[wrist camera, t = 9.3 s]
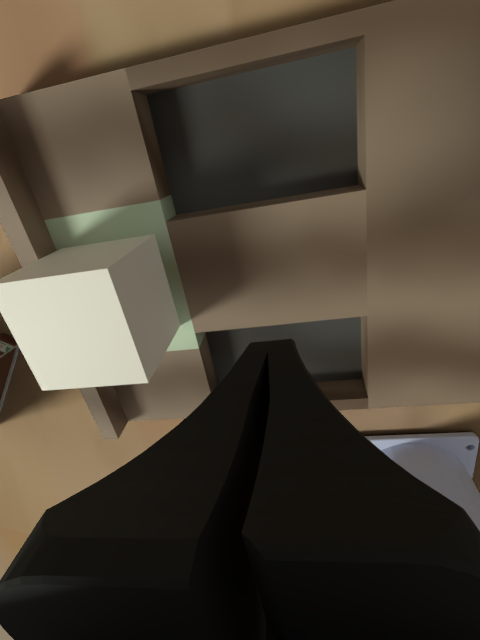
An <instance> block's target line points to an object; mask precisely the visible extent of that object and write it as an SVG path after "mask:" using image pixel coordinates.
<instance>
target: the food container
mask: <svg viewBox="0 0 480 640" xmlns="http://www.w3.org/2000/svg"><path fill="white" fill-rule="evenodd" d="M19 350H20V348H19V346H18V344H17V342H16V340H15V339H14V337H11V336H9V335H7V334H3V333H0V413H1V410H2V406H3V403H4V400H5V396H6V393H7V390H8V386H9V383H10V380H11V376H12V373H13V370H14V366H15V363H16V360H17V356H18V353H19Z"/></svg>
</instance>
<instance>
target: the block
mask: <svg viewBox="0 0 480 640" xmlns="http://www.w3.org/2000/svg"><path fill="white" fill-rule="evenodd" d="M0 312H1V314H2V316H3V318H4V320H5V322H6V324H7V325H8V327H9V329H10V331H11V333H12V335H13V337H14V339H15V340H16V342H17V344H18V346H19V348H20V350H21V352H22V354H23V355H24V357H25V359H26V361H27V363H28V365H29V367H30V369H31V370H32V372H33V374H34V376H35V378H36V380H37V382H38V384H39V385H40V387H41V389H42V391H46V390H59V389H73V388H87V387H100V386H114V385H128V384H141V383H149V381H150V379H151V377H152V376H153V374H154V372H155V370H156V368H157V367H158V365H159V363H160V361H161V359H162V358H163V356H164V354H165V352H166V350H167V349H168V347H169V345H170V343H171V341H172V340H173V338H174V336H175V334H176V332H177V331H178V329H179V327H180V323H179V319H178V315H177V312H176V308H175V305H174V301H173V298H172V294H171V291H170V287H169V284H168V280H167V276H166V273H165V269H164V266H163V262H162V259H161V255H160V252H159V248H158V244H157V241H156V237H155V234H151V235H145V236H138V237H132V238H126V239H119V240H113V241H106V242H100V243H93V244H87V245H80V246H74V247H67V248H61V249H59V250H57V251H55V252H53V253H51V254H49V255H47V256H45V257H43V258H41V259H39V260H37V261H35V262H33V263H31V264H29V265H27V266H25V267H23V268H21V269H19V270H17V271H14V272H12V273H10V274H8V275H6V276H4V277H2V278H0Z"/></svg>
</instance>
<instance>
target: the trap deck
mask: <svg viewBox="0 0 480 640" xmlns="http://www.w3.org/2000/svg"><path fill="white" fill-rule="evenodd" d="M0 222H1V224H2V226H3V228H4V231H5V233H6V235H7V237H8V239H9V241H10V243H11V245H12V247H13V250H14V252H15V254H16V256H17V258H18V260H19V262H20V264H21V266H22V268H23V267H25V266H27V265H29V264H31V263H33V262H35V261H37V260H39V259H41V258H43V257H45V256H47V255H49V254H51V253H53V252H55V251H57V250H59V249H61V248H67V247H74V246H80V245H87V244H93V243H100V242H106V241H113V240H119V239H126V238H132V237H138V236H145V235H151V234H155V237H156V241H157V244H158V248H159V252H160V255H161V259H162V262H163V266H164V269H165V273H166V276H167V280H168V284H169V287H170V291H171V294H172V298H173V301H174V305H175V308H176V312H177V315H178V319H179V323H180V327H179V329H178V331H177V332H176V334H175V336H174V338H173V340H172V341H171V343H170V345H169V347H168V349H167V350H166V352H165V354H164V356H163V358H162V359H161V361H160V363H159V365H158V367H157V368H156V370H155V372H154V374H153V376H152V377H151V379H150V381H149V383H141V384H128V385H114V386H100V387H87V388H79V389H80V391H81V393H82V395H83V397H84V399H85V402H86V404H87V406H88V408H89V410H90V412H91V414H92V416H93V418H94V421H95V423H96V425H97V427H98V429H99V431H100V433H101V435H102V437H103V440H104V439H118V438H119V437H120V435H121V433H122V431H123V429H124V428H125V426H126V424H127V422H128V421H143V420H162V419H181V418H186V417H188V416H189V415H190V414H191V413H192V412H193V411H194V410H195V409H196V408H197V407H198V406H199V405H200V404H201V403H202V402H203V401H204V400H205V399H206V398H207V396H208V395H209V394H210V393H211V392H212V391H213V390H214V389H215V388H216V386H217V385H218V384H219V383H220V382H221V380H222V379H223V378H224V377H225V375H226V374H227V373H228V372H229V370H230V369H231V368H232V366H233V365H234V364H235V362H236V361H237V360H238V358H239V357H240V356H241V354H242V353H243V351H244V350H245V349H246V347H247V346H248V345H249V344H250V343H251V342H262V341H272V340H283V339H292V340H294V341H295V343H296V348H297V351H298V353H299V355H300V357H301V359H302V361H303V363H304V365H305V367H306V368H307V370H308V371H309V373H310V375H311V376H312V378H313V379H314V381H315V382H316V384H317V385H318V386H319V388H320V389H321V390H322V392H323V393H324V394H325V395H326V397H327V398H328V399H329V400H330V402H331V403H332V404H333V405H334V406H335V407H336V409H337V410H349V409H368V408H387V407H406V406H424V405H443V404H462V403H480V0H393V1H389V2H385V3H381V4H377V5H373V6H369V7H365V8H361V9H357V10H353V11H349V12H345V13H341V14H337V15H334V16H330V17H326V18H322V19H318V20H314V21H310V22H306V23H302V24H298V25H294V26H290V27H286V28H282V29H278V30H274V31H270V32H266V33H262V34H258V35H254V36H250V37H246V38H242V39H238V40H234V41H230V42H226V43H222V44H218V45H214V46H210V47H206V48H202V49H198V50H194V51H190V52H186V53H182V54H178V55H174V56H171V57H167V58H163V59H159V60H155V61H151V62H147V63H143V64H139V65H135V66H131V67H127V68H123V69H119V70H115V71H111V72H107V73H103V74H99V75H95V76H91V77H87V78H83V79H79V80H75V81H71V82H67V83H63V84H59V85H55V86H51V87H47V88H43V89H39V90H35V91H31V92H27V93H23V94H19V95H15V96H11V97H8V98H4V99H0Z"/></svg>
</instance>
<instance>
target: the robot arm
mask: <svg viewBox="0 0 480 640" xmlns="http://www.w3.org/2000/svg"><path fill="white" fill-rule="evenodd" d="M468 445H469V446H468ZM478 446H479V438H478V437H477V435H476V434H475V433H473V432H461V433H436V434H411V435H385V436H363V435H362V434H361V433H360V432H359V431H358V430H357V429H356V428H355V427H354V426H353V425H352V424H351V423H350V422H349V421H348V420H347V419H346V418H345V417H344V416H343V415H342V414H341V413H340V412H339V411H338V410H337V409H336V407H335V406H334V405H333V404H332V403H331V402H330V400H329V399H328V398H327V397H326V395H325V394H324V393H323V392H322V390H321V389H320V388H319V386H318V385H317V384H316V382H315V381H314V379H313V378H312V376H311V375H310V373H309V371H308V370H307V368H306V367H305V365H304V363H303V361H302V359H301V357H300V355H299V353H298V351H297V348H296V343H295V341H294V340H292V339H283V340H272V341H262V342H251V343H250V344H249V345H248V346H247V347H246V349H245V350H244V351H243V353H242V354H241V356H240V357H239V358H238V360H237V361H236V362H235V364H234V365H233V366H232V368H231V369H230V370H229V372H228V373H227V374H226V375H225V377H224V378H223V379H222V380H221V382H220V383H219V384H218V385H217V386H216V388H215V389H214V390H213V391H212V392H211V393H210V394H209V395H208V396H207V398H206V399H205V400H204V401H203V402H202V403H201V404H200V405H199V406H198V407H197V408H196V409H195V410H194V411H193V412H192V413H191V414H190V415H189V416H188V417H186V418H185V419H184V420H183V421H182V422H181V423H180V424H179V425H177V426H176V427H175V428H174V429H173V430H171V431H170V432H169V433H167V434H166V435H165V436H164V437H162V438H161V439H160V440H158V441H157V442H156V443H155V444H153V445H152V446H151V447H149V448H148V449H147V450H145V451H144V452H143V453H141V454H140V455H138V456H137V457H135V458H134V459H132V460H131V461H130V462H128V463H127V464H125V465H124V466H122V467H120V468H119V469H117V470H116V471H114V472H113V473H111V474H109V475H108V476H106V477H105V478H103V479H101V480H100V481H98V482H96V483H94V484H93V485H91V486H89V487H87V488H85V489H84V490H82V491H80V492H78V493H77V494H75V495H73V496H71V497H69V498H68V499H66V500H64V501H62V502H60V503H59V504H57V505H55V506H53V507H51V508H49V509H47V510H46V511H45V513H44V514H43V515H42V517H41V518H40V520H39V521H38V523H37V524H36V526H35V528H34V529H33V531H32V532H31V534H30V535H29V537H28V538H27V540H26V542H25V543H24V545H23V546H22V548H21V549H20V551H19V552H18V554H17V555H16V557H15V558H14V560H13V561H12V563H11V565H10V566H9V568H8V569H7V571H6V572H5V574H4V575H3V577H2V578H1V580H0V625H1V626H2V627H3V628H4V630H6V632H7V633H8V634H9V635H10V636H11V637H12V638H13V639H14V640H480V493H479V491H478V489H477V488H476V486H475V484H474V482H473V480H472V479H473V473H474V468H475V462H476V457H477V452H478Z"/></svg>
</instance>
